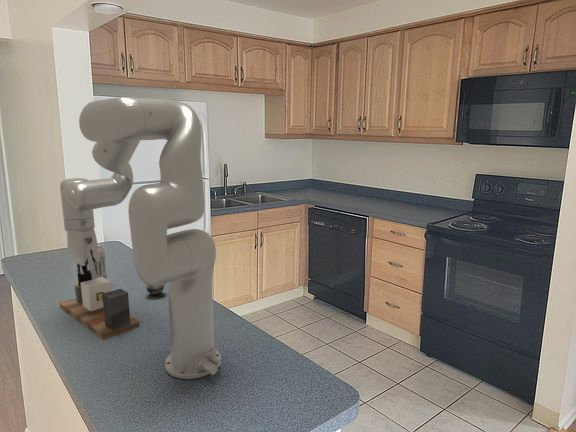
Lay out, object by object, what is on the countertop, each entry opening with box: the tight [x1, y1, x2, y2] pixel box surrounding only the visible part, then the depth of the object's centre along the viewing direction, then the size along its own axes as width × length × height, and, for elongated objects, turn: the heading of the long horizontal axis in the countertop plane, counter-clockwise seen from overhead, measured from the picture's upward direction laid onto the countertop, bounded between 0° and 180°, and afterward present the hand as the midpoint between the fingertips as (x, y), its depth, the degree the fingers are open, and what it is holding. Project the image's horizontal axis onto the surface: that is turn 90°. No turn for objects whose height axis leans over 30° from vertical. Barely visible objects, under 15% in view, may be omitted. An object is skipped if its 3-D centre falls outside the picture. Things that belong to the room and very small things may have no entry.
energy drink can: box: [91, 243, 108, 280], centre depth 138 cm, size 6×6×15 cm
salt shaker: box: [145, 284, 166, 300], centre depth 133 cm, size 6×6×12 cm
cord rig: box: [59, 280, 140, 340], centre depth 119 cm, size 28×10×10 cm, turn 48°
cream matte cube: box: [81, 277, 112, 311], centre depth 118 cm, size 5×6×7 cm
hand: (85, 285), depth 120 cm, fingers closed
